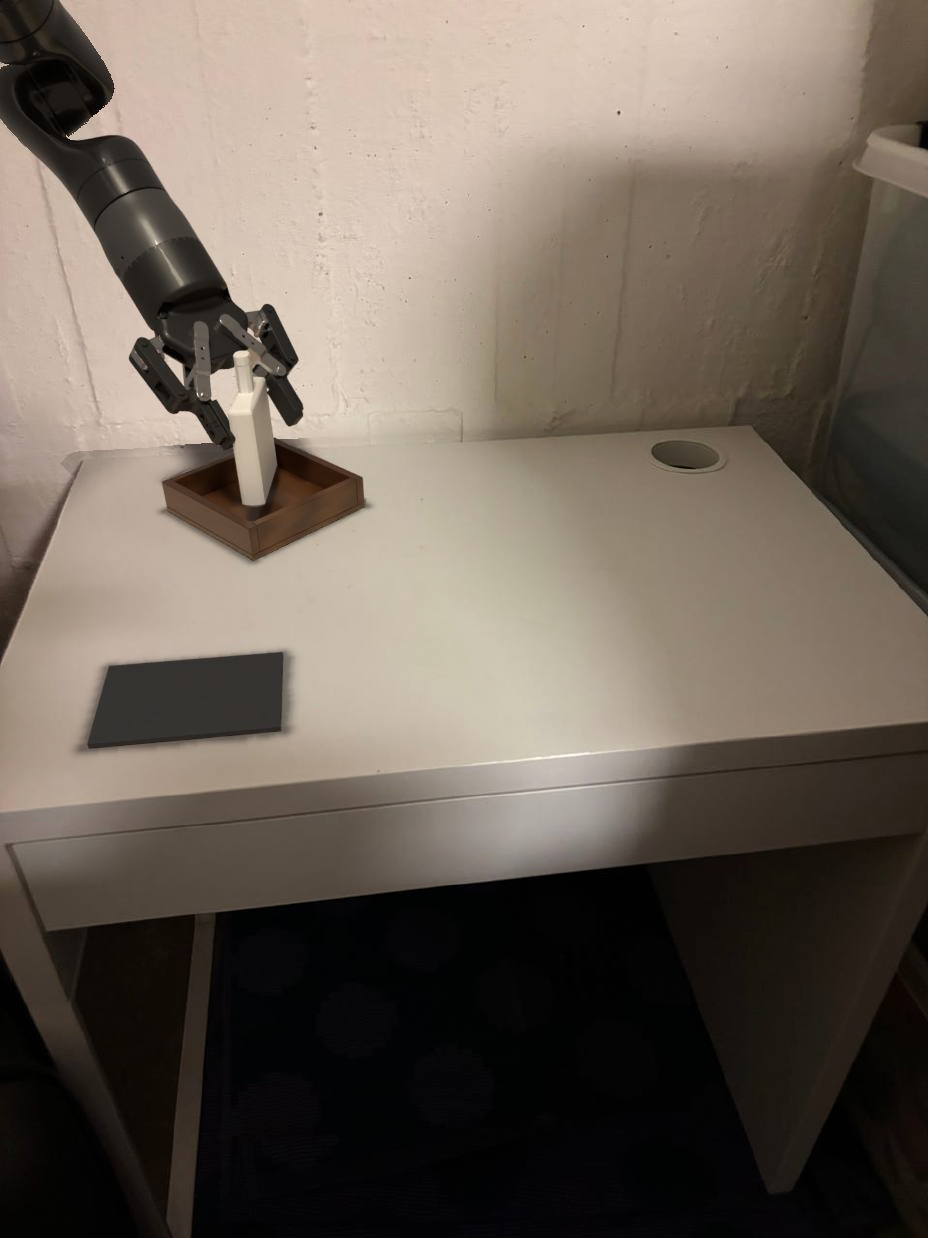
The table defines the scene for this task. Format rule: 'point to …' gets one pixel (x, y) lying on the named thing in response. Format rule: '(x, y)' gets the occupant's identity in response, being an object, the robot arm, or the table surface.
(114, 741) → the mat
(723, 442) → the table surface
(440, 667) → the table surface
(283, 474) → the compartment
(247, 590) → the table surface
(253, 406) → the perfume bottle
